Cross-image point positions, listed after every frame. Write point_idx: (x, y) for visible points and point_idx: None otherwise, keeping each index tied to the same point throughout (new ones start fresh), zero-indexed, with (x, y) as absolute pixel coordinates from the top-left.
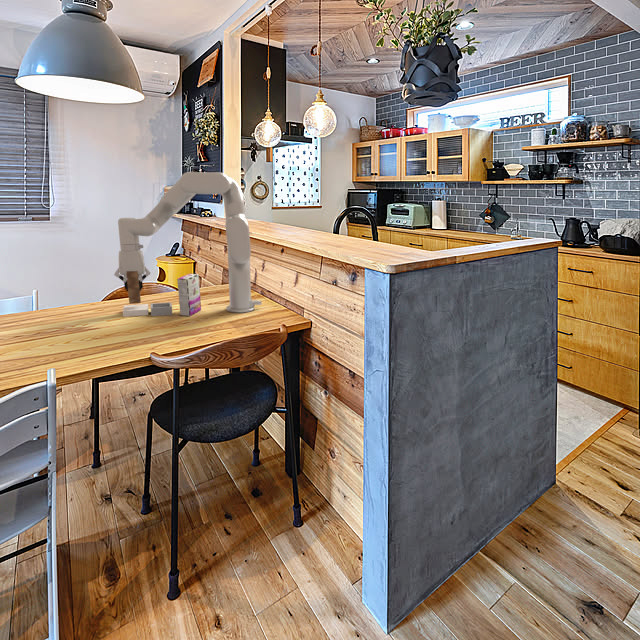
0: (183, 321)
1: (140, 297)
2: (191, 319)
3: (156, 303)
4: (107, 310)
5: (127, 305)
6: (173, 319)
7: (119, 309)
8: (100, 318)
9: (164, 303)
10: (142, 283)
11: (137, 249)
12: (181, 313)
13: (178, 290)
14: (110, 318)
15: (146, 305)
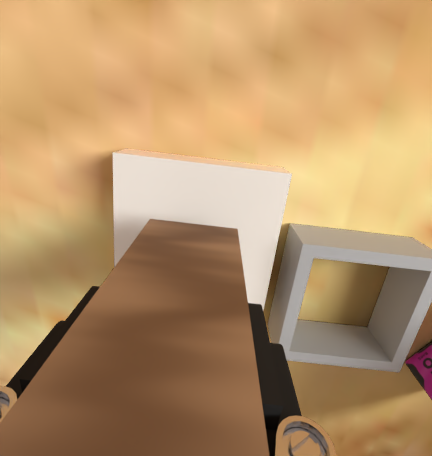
0: (375, 437)
1: (238, 242)
2: (419, 425)
3: (342, 255)
4: (7, 82)
5: (139, 163)
6: (349, 402)
7: (90, 84)
8: (10, 271)
9: (396, 265)
10: (293, 389)
11: None
12: (415, 374)
13: None
14: (63, 289)
15: (272, 216)
